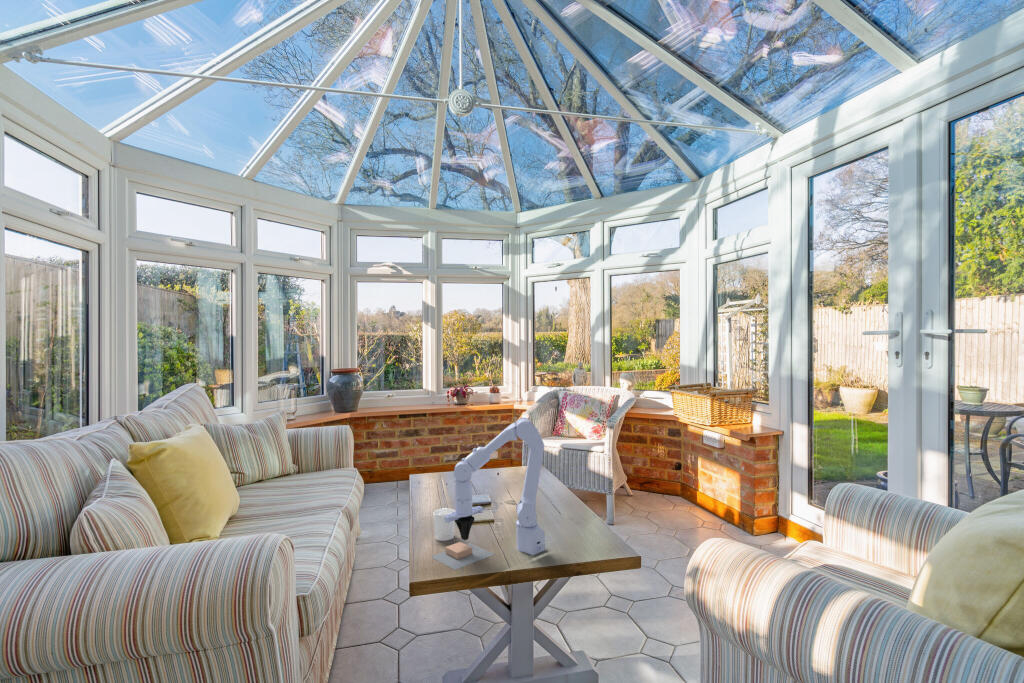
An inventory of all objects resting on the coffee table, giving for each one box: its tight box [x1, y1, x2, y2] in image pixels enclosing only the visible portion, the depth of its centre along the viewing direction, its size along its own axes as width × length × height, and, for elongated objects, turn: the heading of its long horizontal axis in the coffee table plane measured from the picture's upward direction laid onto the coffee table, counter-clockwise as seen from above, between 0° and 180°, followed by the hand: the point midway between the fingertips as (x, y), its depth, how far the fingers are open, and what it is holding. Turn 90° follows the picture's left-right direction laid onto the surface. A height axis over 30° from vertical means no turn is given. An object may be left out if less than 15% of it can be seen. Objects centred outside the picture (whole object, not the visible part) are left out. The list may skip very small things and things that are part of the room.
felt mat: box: [430, 542, 495, 571], centre depth 161 cm, size 14×16×1 cm
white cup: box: [432, 507, 456, 542], centre depth 178 cm, size 8×8×10 cm
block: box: [444, 541, 473, 559], centre depth 163 cm, size 7×2×6 cm
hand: (464, 539), depth 165 cm, fingers closed
